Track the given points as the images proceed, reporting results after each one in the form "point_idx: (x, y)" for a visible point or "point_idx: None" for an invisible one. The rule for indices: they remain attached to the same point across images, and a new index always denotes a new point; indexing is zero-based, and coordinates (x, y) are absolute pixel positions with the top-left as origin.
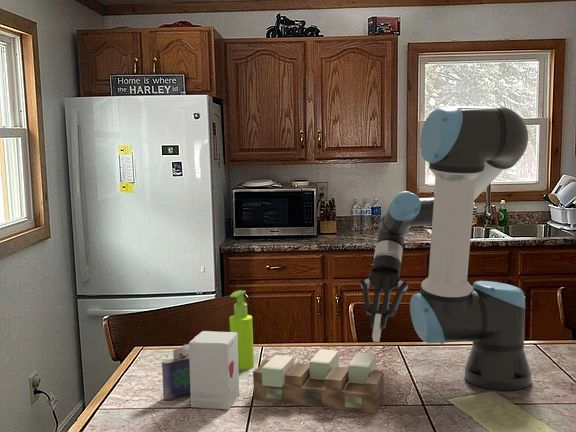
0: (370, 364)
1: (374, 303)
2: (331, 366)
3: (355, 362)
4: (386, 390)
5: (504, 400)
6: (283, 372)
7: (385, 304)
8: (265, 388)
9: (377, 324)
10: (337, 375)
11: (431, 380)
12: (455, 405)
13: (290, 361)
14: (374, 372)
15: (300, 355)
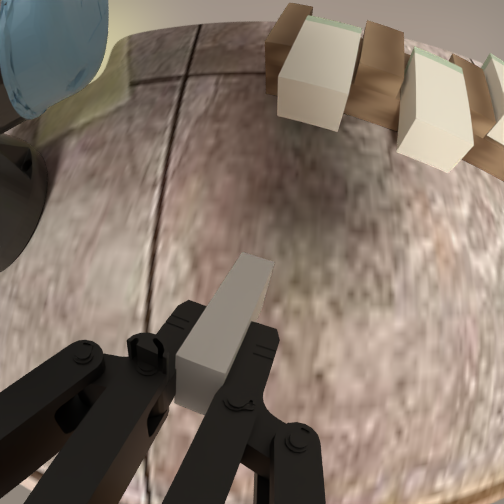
0: (301, 30)
1: (211, 478)
2: (409, 75)
3: (344, 36)
4: (250, 134)
5: (45, 113)
6: (488, 68)
7: (99, 426)
8: None
9: (229, 299)
10: (381, 37)
11: (114, 197)
12: (128, 81)
13: (501, 93)
14: (289, 36)
15: (480, 422)
